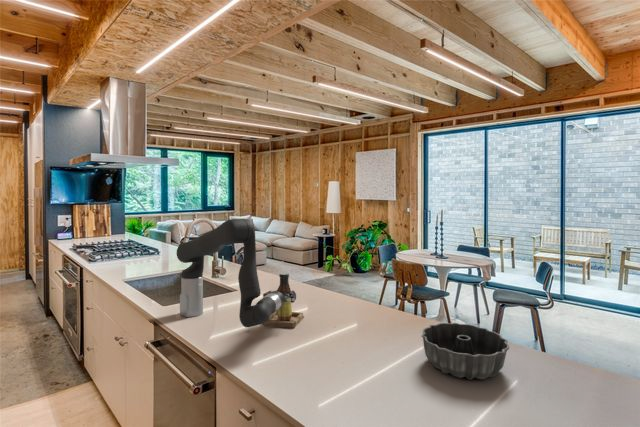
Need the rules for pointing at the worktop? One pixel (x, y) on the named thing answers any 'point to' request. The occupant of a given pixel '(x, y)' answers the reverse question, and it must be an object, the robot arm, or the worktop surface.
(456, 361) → the bundt pan
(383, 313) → the worktop surface
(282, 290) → the sauce bottle
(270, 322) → the dock
